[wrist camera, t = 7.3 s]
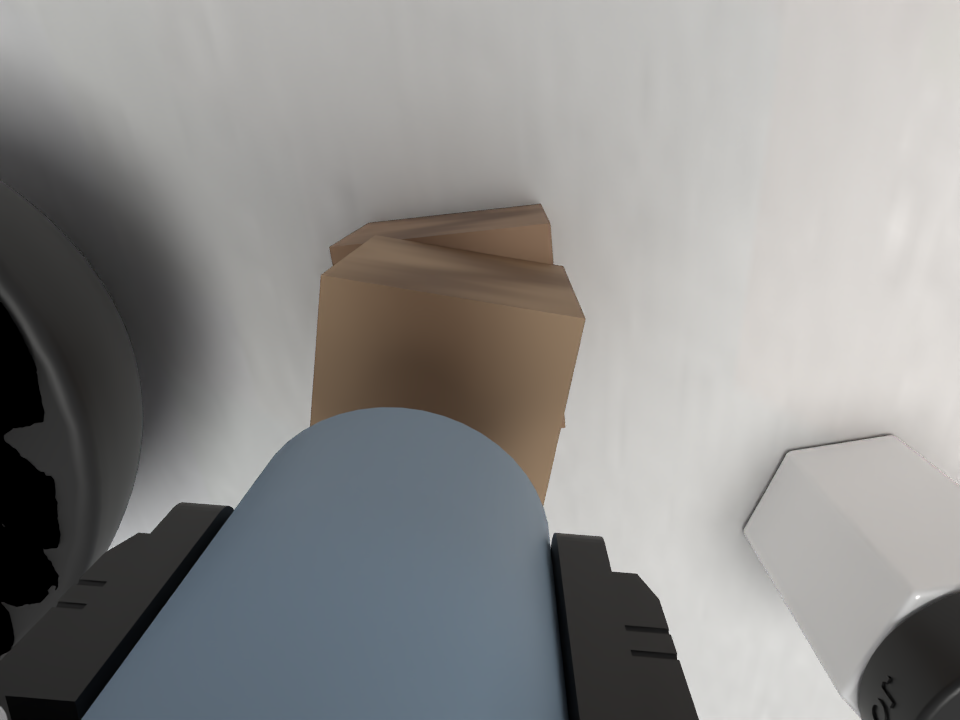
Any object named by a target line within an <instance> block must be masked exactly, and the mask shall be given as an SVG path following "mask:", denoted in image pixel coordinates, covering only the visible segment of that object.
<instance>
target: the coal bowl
mask: <svg viewBox="0 0 960 720" xmlns="http://www.w3.org/2000/svg"><path fill="white" fill-rule="evenodd" d="M142 435H143V406H142V394H141V383H140V377H139V372H138V367H137V362H136V358H135V355H134V351H133V348H132V345H131V341H130V338H129V336H128V333H127V331H126V328H125V326H124V323H123V321H122V318H121V316H120V314H119V312H118V311H117V309H116V307H115V305H114V303H113V301H112V299H111V297H110V295H109V293H108V292H107V290H106V289H105V287H104V285H103V284H102V282H101V280H100V279H99V277H98V276H97V274H96V273H95V272H94V270H93V269H92V267H91V266H90V265H89V263H88V262H87V261H86V259H85V258H84V256H83V255H82V254H81V253H80V252H79V251H78V249H77V248H76V247H75V246H74V245H73V244H72V242H71V241H70V240H69V239H68V238H67V237H66V236H65V235H64V234H63V233H62V232H61V231H60V230H59V229H58V228H57V227H56V226H55V225H54V224H53V223H52V222H51V221H50V220H49V219H48V218H47V217H46V216H45V215H44V214H43V213H42V212H40V211H39V210H38V209H37V208H36V207H35V206H33V205H32V204H31V203H30V202H29V201H28V200H26V199H25V198H24V197H23V196H21V195H20V194H19V193H18V192H16V191H15V190H14V189H12V188H11V187H10V186H8V185H7V184H5V183H4V182H3V181H1V180H0V660H1V659H2V658H3V657H4V656H5V655H6V654H7V653H8V652H9V651H10V650H11V649H12V648H13V647H14V646H15V645H16V644H17V643H18V642H19V641H20V640H21V639H22V638H23V637H24V636H25V634H26V633H27V632H28V631H29V630H30V629H31V628H32V627H33V626H34V625H35V624H36V623H37V622H38V621H39V620H40V619H41V618H42V617H43V616H44V615H45V614H46V613H47V612H48V611H49V610H50V609H51V608H52V607H56V606H57V603H58V600H59V599H60V598H61V597H62V596H63V595H64V594H65V593H66V592H67V591H68V590H69V589H70V588H71V587H72V586H73V585H77V584H78V582H79V579H80V578H81V577H82V576H83V574H84V573H85V572H86V571H87V570H88V569H89V568H90V567H91V566H92V565H93V564H94V563H95V562H96V561H97V560H98V559H99V558H100V557H101V556H102V555H103V554H104V553H105V552H107V550H108V548H109V546H110V545H111V543H112V540H113V538H114V536H115V534H116V532H117V530H118V528H119V525H120V523H121V520H122V518H123V515H124V513H125V510H126V508H127V505H128V502H129V499H130V496H131V493H132V490H133V486H134V482H135V478H136V474H137V470H138V464H139V458H140V451H141V443H142Z"/></svg>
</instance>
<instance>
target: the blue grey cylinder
mask: <svg viewBox="0 0 960 720" xmlns="http://www.w3.org/2000/svg"><path fill="white" fill-rule="evenodd" d="M81 720H569V715H568V705H567V696H566V687H565V678H564V668H563V659H562V650H561V641H560V631H559V622H558V613H557V604H556V594H555V585H554V576H553V566H552V557H551V547H550V538H549V529H548V522H547V519H546V515H545V511H544V508H543V505H542V503H541V500H540V498H539V496H538V494H537V491H536V489H535V488H534V486H533V485H532V483H531V481H530V480H529V478H528V477H527V475H526V474H525V472H524V471H523V470H522V469H521V467H520V466H519V465H518V464H517V463H516V461H515V460H514V459H513V458H512V457H511V456H510V455H508V454H507V453H506V452H505V451H504V450H503V449H502V448H501V447H500V446H499V445H497V444H496V443H494V442H493V441H492V440H490V439H489V438H487V437H486V436H485V435H483V434H482V433H480V432H478V431H476V430H474V429H472V428H471V427H469V426H467V425H465V424H463V423H460V422H458V421H455V420H453V419H450V418H448V417H445V416H442V415H438V414H434V413H430V412H427V411H423V410H415V409H408V408H395V407H378V408H368V409H359V410H355V411H351V412H346V413H342V414H338V415H336V416H333V417H330V418H328V419H325V420H322V421H320V422H318V423H316V424H314V425H312V426H311V427H309V428H307V429H305V430H303V431H302V432H300V433H299V434H298V435H296V436H295V437H294V438H292V439H291V440H290V441H288V442H287V443H286V444H285V445H284V446H283V447H282V448H281V449H280V450H279V451H278V452H277V453H276V454H275V455H274V457H273V458H272V459H271V461H270V462H269V463H268V465H267V466H266V467H265V469H264V470H263V472H262V473H261V474H260V476H259V477H258V478H257V480H256V481H255V482H254V484H253V485H252V487H251V488H250V489H249V491H248V492H247V493H246V495H245V496H244V497H243V499H242V500H241V502H240V503H239V504H238V506H237V507H236V508H235V510H234V511H233V513H232V514H231V515H230V517H229V518H228V519H227V521H226V522H225V523H224V525H223V526H222V528H221V529H220V530H219V532H218V533H217V534H216V536H215V537H214V539H213V540H212V541H211V543H210V544H209V545H208V547H207V548H206V549H205V551H204V552H203V554H202V555H201V556H200V558H199V559H198V560H197V562H196V563H195V565H194V566H193V567H192V569H191V570H190V571H189V573H188V574H187V575H186V577H185V578H184V580H183V581H182V582H181V584H180V585H179V586H178V588H177V589H176V591H175V592H174V593H173V595H172V596H171V597H170V599H169V600H168V601H167V603H166V604H165V606H164V607H163V608H162V610H161V611H160V612H159V614H158V615H157V617H156V618H155V619H154V621H153V622H152V623H151V625H150V626H149V627H148V629H147V630H146V632H145V633H144V634H143V636H142V637H141V638H140V640H139V641H138V643H137V644H136V645H135V647H134V648H133V649H132V651H131V652H130V653H129V655H128V656H127V658H126V659H125V660H124V662H123V663H122V664H121V666H120V667H119V669H118V670H117V671H116V673H115V674H114V675H113V677H112V678H111V679H110V681H109V682H108V684H107V685H106V686H105V688H104V689H103V690H102V692H101V693H100V695H99V696H98V697H97V699H96V700H95V701H94V703H93V704H92V705H91V707H90V708H89V710H88V711H87V712H86V714H85V715H84V716H83V718H82V719H81Z"/></svg>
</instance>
